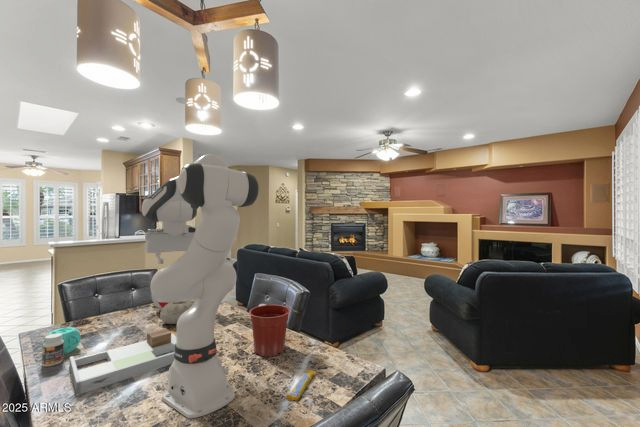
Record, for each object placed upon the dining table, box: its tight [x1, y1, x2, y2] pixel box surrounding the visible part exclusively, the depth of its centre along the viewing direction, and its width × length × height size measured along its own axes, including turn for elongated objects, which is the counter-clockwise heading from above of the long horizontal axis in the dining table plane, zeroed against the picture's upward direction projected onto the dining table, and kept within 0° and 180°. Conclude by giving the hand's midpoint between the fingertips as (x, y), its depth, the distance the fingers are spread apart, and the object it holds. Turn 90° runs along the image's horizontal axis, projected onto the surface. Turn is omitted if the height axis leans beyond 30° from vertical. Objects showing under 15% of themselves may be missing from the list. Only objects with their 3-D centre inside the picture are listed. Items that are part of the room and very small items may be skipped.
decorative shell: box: [159, 300, 194, 325], centre depth 146 cm, size 18×18×10 cm
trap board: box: [69, 333, 176, 396], centre depth 105 cm, size 22×34×4 cm, turn 135°
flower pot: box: [248, 304, 291, 358], centre depth 117 cm, size 16×16×16 cm
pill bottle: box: [41, 333, 65, 367], centre depth 104 cm, size 6×6×10 cm
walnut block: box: [146, 327, 172, 348], centre depth 116 cm, size 7×7×4 cm
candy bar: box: [285, 369, 317, 402], centre depth 92 cm, size 17×4×2 cm, turn 161°
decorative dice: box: [42, 326, 81, 355], centre depth 113 cm, size 8×8×8 cm
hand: (173, 262), depth 117 cm, fingers open, 8 cm apart
